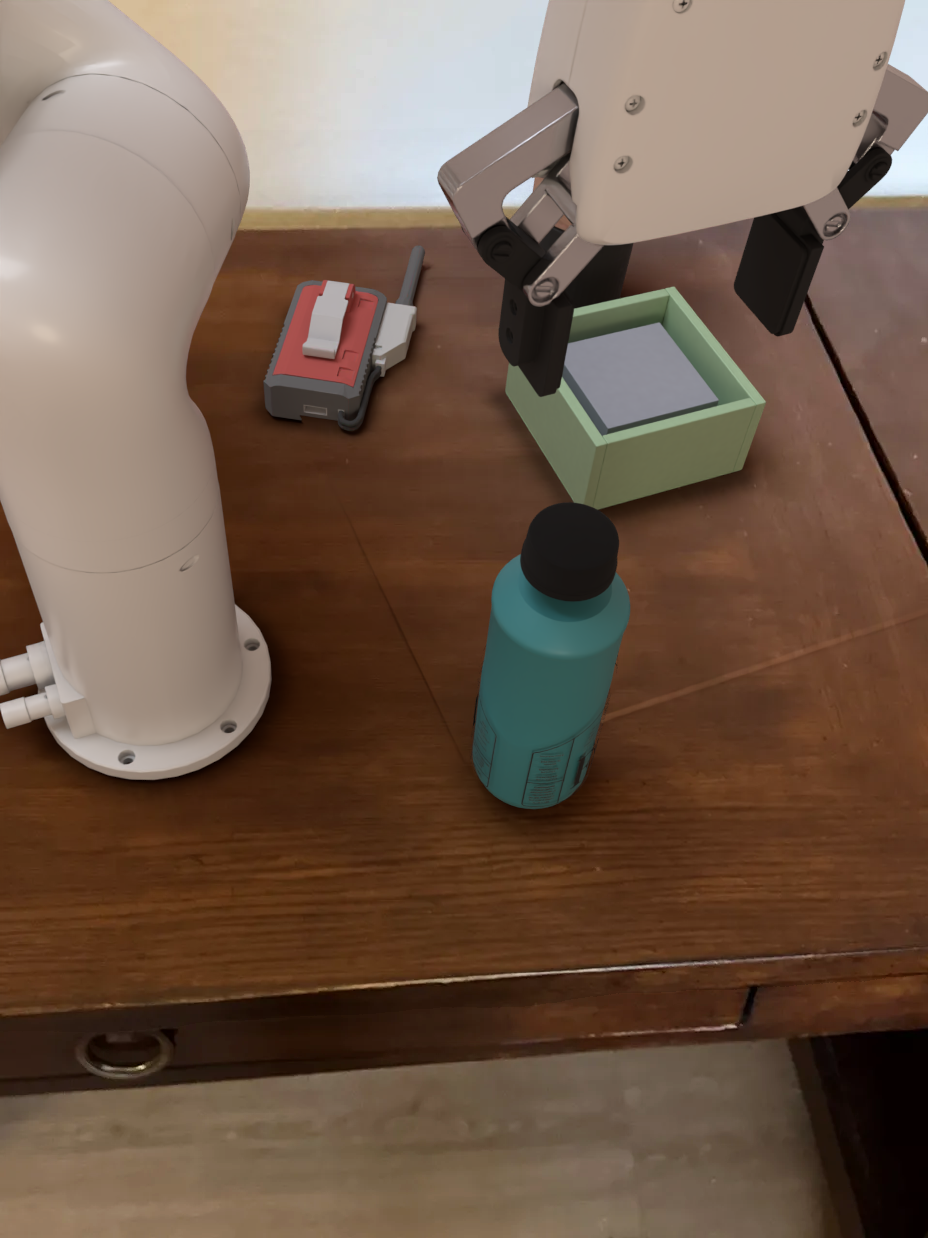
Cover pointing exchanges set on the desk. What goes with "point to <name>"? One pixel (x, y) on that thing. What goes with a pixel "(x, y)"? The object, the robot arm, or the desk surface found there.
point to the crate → (656, 449)
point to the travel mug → (593, 268)
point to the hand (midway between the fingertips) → (649, 340)
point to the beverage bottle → (549, 657)
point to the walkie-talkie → (339, 347)
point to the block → (634, 379)
